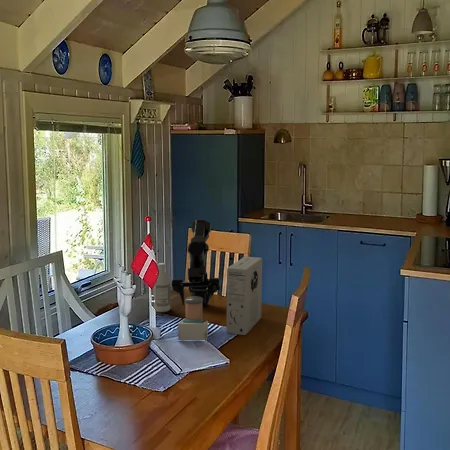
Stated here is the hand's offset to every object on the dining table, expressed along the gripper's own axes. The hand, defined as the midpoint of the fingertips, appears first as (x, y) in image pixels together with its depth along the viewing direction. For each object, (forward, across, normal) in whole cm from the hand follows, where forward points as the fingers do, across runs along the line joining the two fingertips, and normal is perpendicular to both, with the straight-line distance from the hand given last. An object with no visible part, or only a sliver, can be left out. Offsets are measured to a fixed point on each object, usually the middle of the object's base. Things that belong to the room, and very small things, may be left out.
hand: (195, 304), depth 211 cm
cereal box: (+5, +18, +10) cm, 21 cm away
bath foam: (-7, -17, +20) cm, 27 cm away
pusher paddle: (+14, 0, -4) cm, 14 cm away
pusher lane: (+13, 0, -1) cm, 13 cm away
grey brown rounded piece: (+11, 0, 0) cm, 11 cm away
